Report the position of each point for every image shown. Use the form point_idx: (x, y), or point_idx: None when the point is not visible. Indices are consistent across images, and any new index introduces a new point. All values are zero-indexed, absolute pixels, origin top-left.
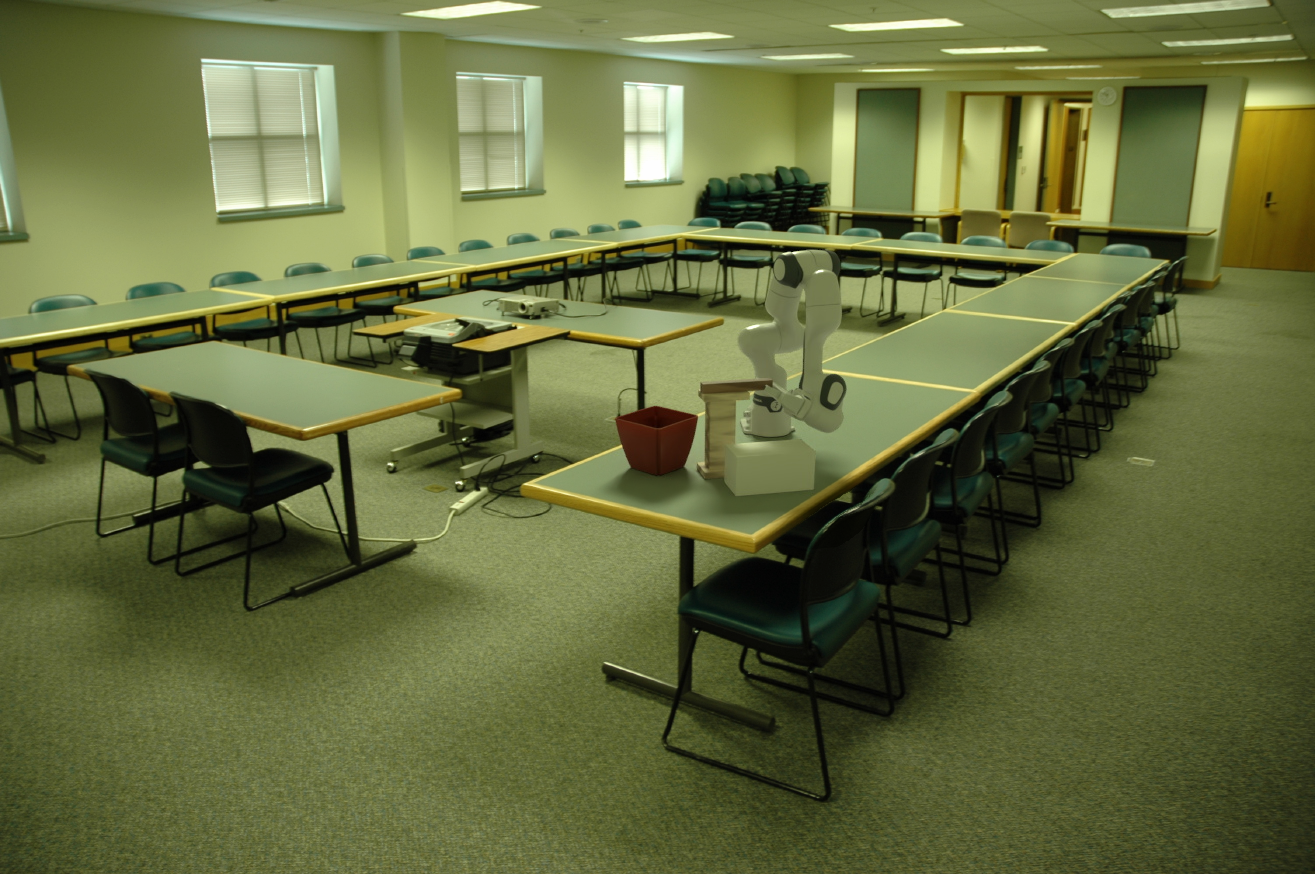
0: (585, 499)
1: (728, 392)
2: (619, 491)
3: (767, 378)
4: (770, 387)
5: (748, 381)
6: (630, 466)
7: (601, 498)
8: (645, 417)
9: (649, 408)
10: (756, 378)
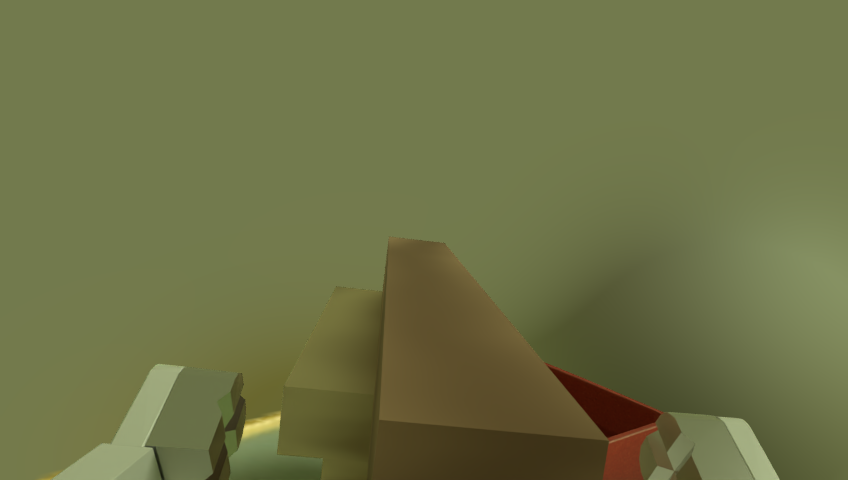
0: (270, 418)
1: (376, 333)
2: (286, 465)
3: (542, 407)
4: (132, 412)
5: (389, 292)
6: None
7: (259, 435)
8: (606, 425)
9: (636, 406)
10: (698, 416)
